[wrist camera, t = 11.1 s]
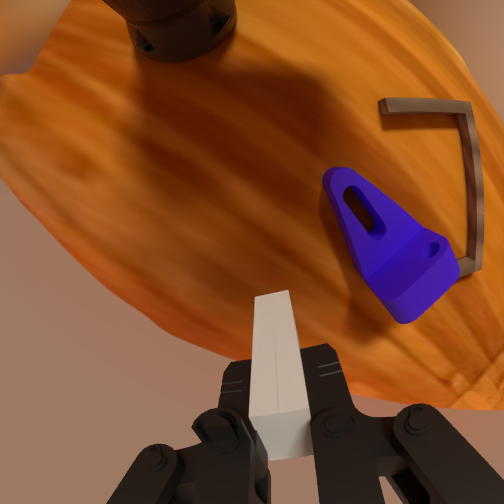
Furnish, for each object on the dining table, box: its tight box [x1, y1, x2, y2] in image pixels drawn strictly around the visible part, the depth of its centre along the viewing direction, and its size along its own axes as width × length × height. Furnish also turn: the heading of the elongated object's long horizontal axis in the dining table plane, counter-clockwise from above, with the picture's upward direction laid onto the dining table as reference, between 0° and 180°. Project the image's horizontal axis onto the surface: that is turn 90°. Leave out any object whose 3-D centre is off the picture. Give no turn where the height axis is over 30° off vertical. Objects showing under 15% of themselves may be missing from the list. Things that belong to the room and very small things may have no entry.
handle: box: [378, 98, 484, 278], centre depth 32 cm, size 28×17×2 cm, turn 12°
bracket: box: [323, 167, 460, 324], centre depth 30 cm, size 18×11×12 cm, turn 43°
